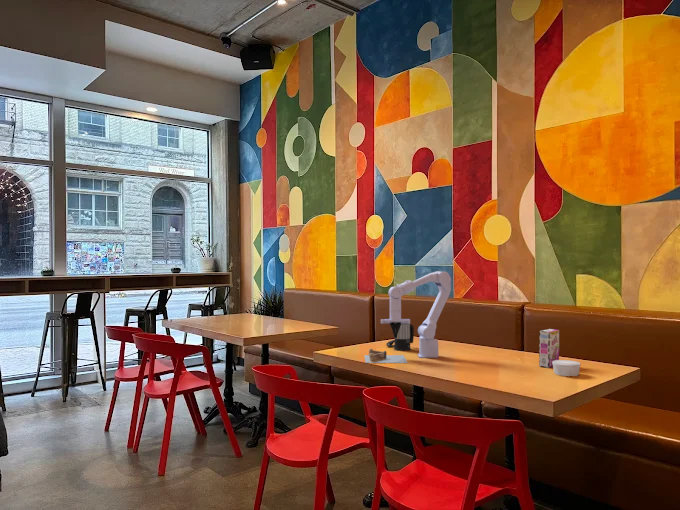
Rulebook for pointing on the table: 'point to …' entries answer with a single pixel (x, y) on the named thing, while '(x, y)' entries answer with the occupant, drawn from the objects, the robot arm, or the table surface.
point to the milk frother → (403, 337)
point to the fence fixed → (377, 352)
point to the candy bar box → (548, 347)
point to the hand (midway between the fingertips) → (395, 337)
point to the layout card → (387, 359)
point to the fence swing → (376, 356)
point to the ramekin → (566, 367)
